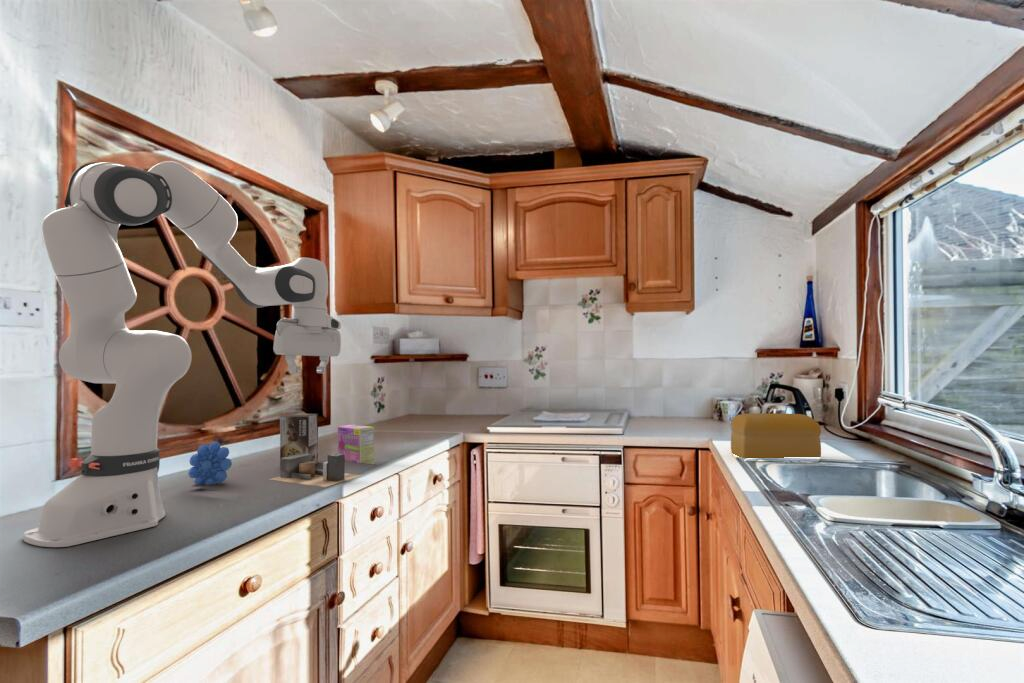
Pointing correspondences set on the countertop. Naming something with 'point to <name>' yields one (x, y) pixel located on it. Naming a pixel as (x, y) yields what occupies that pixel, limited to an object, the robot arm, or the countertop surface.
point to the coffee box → (299, 435)
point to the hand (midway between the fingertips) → (307, 373)
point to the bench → (292, 475)
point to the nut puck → (307, 468)
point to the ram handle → (334, 467)
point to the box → (356, 443)
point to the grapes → (210, 464)
